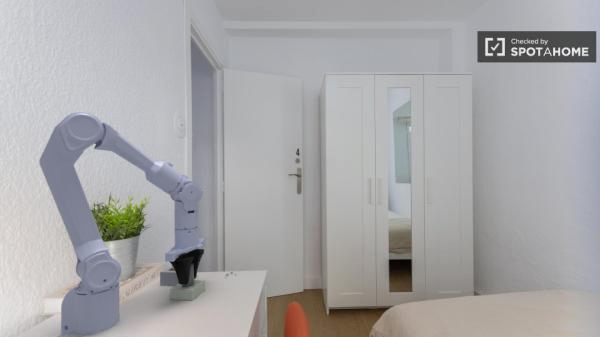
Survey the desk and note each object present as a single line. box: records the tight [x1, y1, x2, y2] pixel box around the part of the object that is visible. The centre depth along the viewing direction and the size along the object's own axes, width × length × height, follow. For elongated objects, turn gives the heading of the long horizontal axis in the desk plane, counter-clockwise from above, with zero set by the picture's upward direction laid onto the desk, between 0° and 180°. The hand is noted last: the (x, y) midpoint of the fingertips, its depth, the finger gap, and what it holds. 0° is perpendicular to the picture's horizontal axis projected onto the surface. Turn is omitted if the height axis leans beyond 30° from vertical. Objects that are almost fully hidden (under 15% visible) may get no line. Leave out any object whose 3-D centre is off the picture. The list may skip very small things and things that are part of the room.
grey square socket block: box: [159, 265, 198, 287], centre depth 77 cm, size 7×7×5 cm
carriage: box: [169, 263, 206, 301], centre depth 68 cm, size 6×6×7 cm
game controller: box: [224, 271, 237, 279], centre depth 80 cm, size 6×12×3 cm, turn 100°
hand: (187, 281), depth 68 cm, fingers closed on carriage, 3 cm apart
